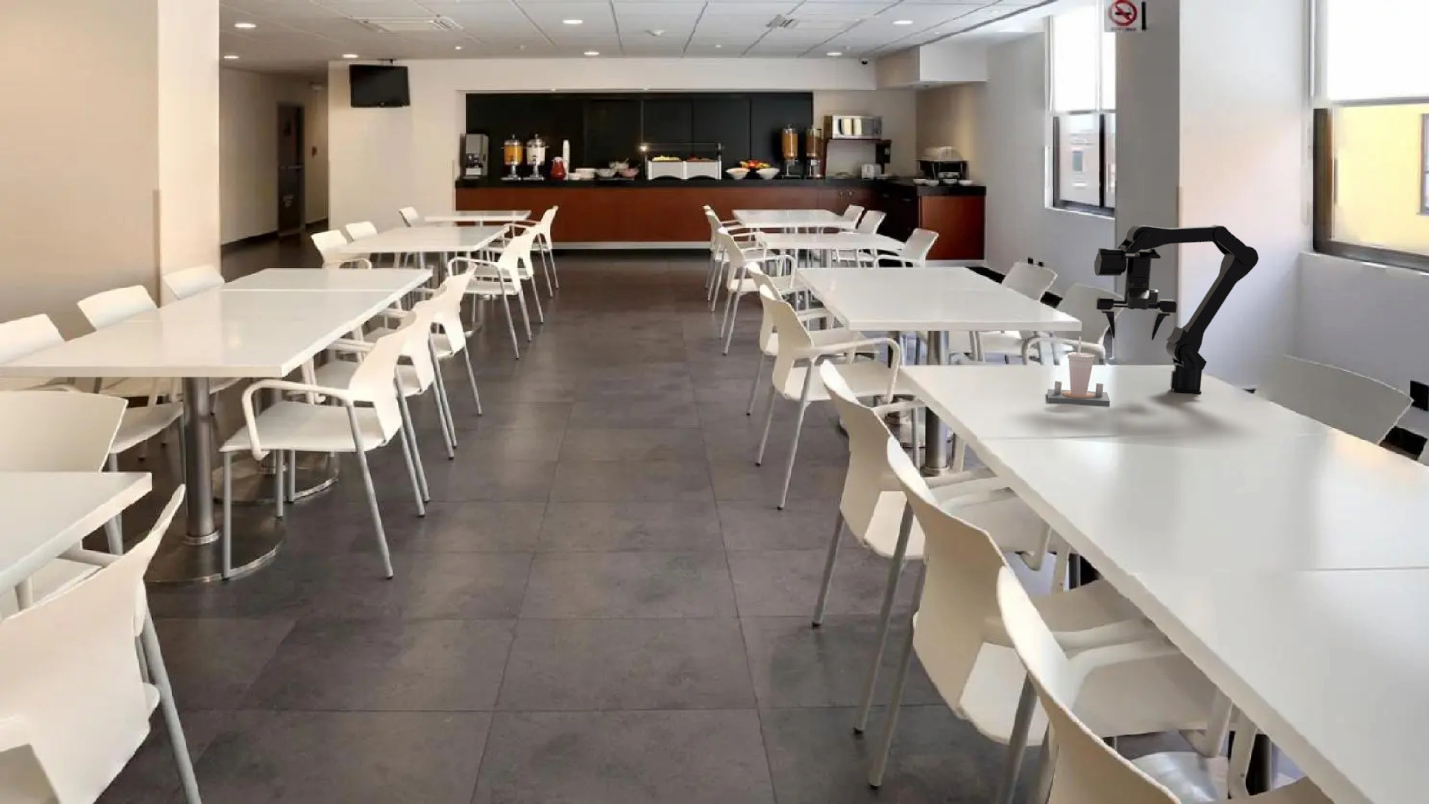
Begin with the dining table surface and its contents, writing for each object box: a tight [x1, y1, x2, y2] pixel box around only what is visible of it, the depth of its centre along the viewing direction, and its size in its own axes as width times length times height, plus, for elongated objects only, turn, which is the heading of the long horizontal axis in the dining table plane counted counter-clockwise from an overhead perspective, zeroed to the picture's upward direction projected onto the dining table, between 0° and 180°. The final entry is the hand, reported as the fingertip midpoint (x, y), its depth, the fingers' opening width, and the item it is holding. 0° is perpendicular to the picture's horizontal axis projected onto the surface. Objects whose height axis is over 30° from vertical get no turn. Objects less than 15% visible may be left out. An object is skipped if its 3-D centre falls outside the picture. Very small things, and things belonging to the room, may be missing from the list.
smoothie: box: [1067, 335, 1096, 395], centre depth 293 cm, size 6×6×14 cm
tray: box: [1046, 380, 1111, 407], centre depth 294 cm, size 14×11×4 cm
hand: (1132, 338), depth 305 cm, fingers open, 9 cm apart
